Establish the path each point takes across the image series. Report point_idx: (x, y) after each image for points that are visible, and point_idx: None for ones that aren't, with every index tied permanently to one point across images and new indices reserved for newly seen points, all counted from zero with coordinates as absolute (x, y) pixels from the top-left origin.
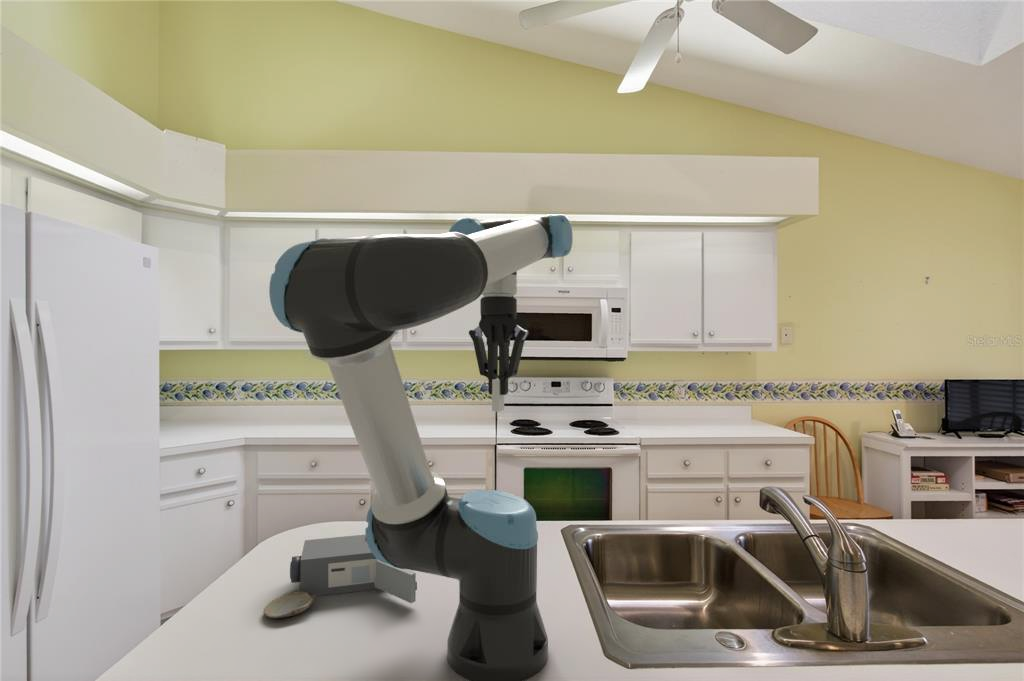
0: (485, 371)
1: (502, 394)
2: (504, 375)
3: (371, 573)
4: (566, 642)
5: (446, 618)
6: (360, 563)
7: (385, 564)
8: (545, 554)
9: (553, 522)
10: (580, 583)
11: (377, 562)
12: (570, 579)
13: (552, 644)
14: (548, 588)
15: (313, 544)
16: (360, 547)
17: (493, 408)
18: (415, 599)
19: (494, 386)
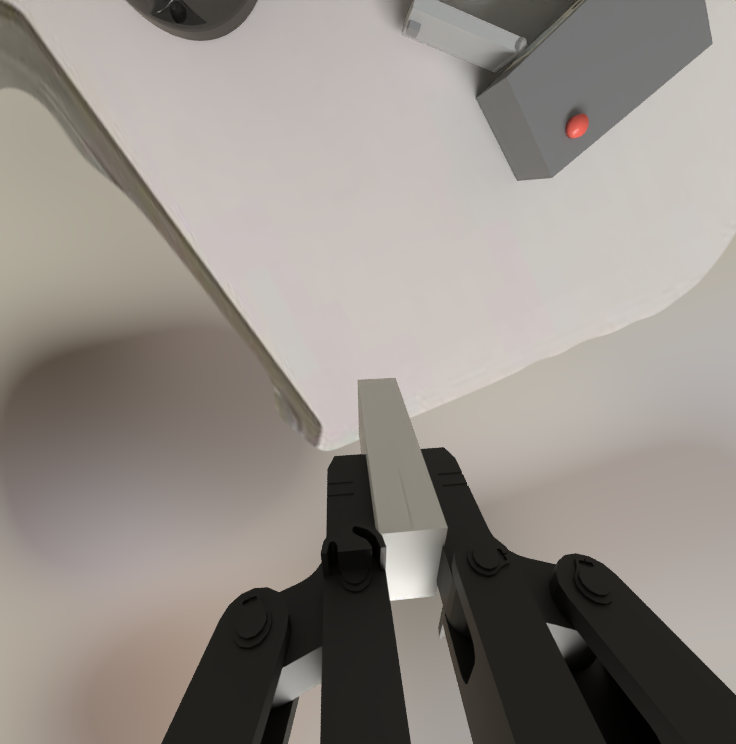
0: (566, 611)
1: (348, 456)
2: (322, 590)
3: (518, 59)
4: (101, 31)
5: (328, 20)
6: (550, 31)
7: (492, 24)
8: (300, 337)
9: (342, 443)
10: (201, 262)
11: (514, 35)
12: (222, 269)
13: (117, 10)
14: (235, 222)
15: (685, 26)
16: (576, 62)
17: (390, 385)
18: (402, 32)
19: (410, 478)
